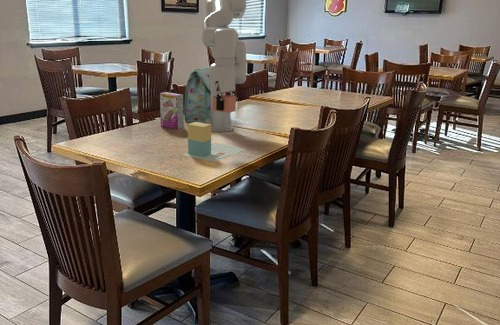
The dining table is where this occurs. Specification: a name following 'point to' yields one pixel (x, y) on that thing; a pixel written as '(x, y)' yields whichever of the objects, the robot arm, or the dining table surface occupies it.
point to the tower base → (199, 148)
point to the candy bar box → (171, 110)
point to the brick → (226, 103)
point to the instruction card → (218, 155)
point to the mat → (218, 148)
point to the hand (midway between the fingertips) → (224, 108)
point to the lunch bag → (198, 97)
